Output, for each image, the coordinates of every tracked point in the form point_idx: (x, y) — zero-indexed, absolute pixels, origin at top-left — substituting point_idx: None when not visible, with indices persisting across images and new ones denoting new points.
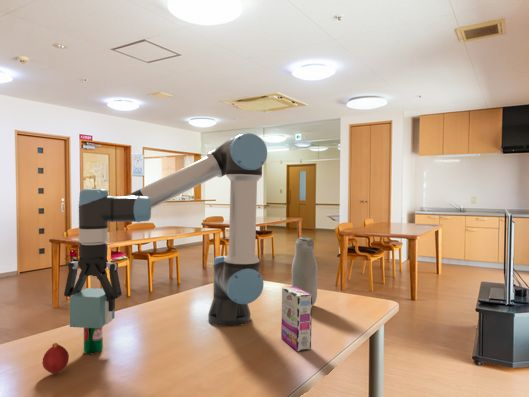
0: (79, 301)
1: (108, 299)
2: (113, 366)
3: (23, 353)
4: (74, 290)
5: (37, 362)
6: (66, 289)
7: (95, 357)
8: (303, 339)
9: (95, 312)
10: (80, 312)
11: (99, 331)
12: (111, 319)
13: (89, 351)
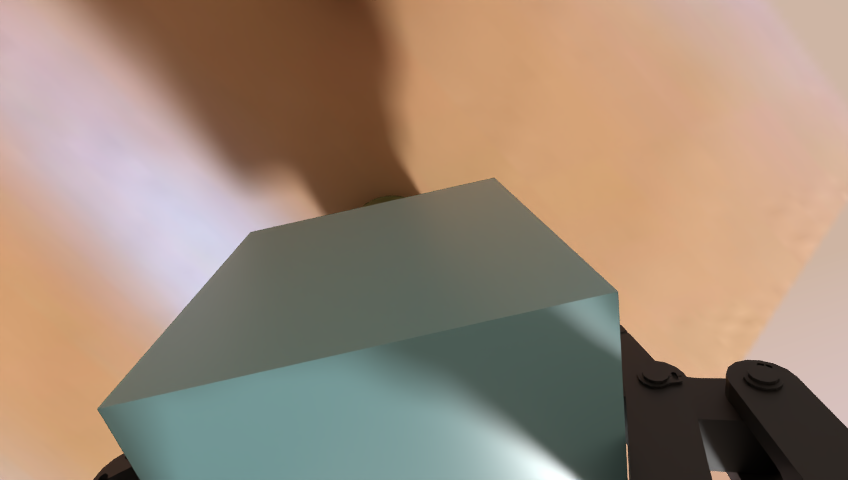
0: (441, 292)
1: (121, 469)
2: (147, 125)
3: (716, 94)
4: (677, 458)
5: (569, 29)
6: (823, 435)
7: (324, 181)
8: None
9: (245, 279)
10: (414, 238)
11: None
12: None
13: (376, 199)
